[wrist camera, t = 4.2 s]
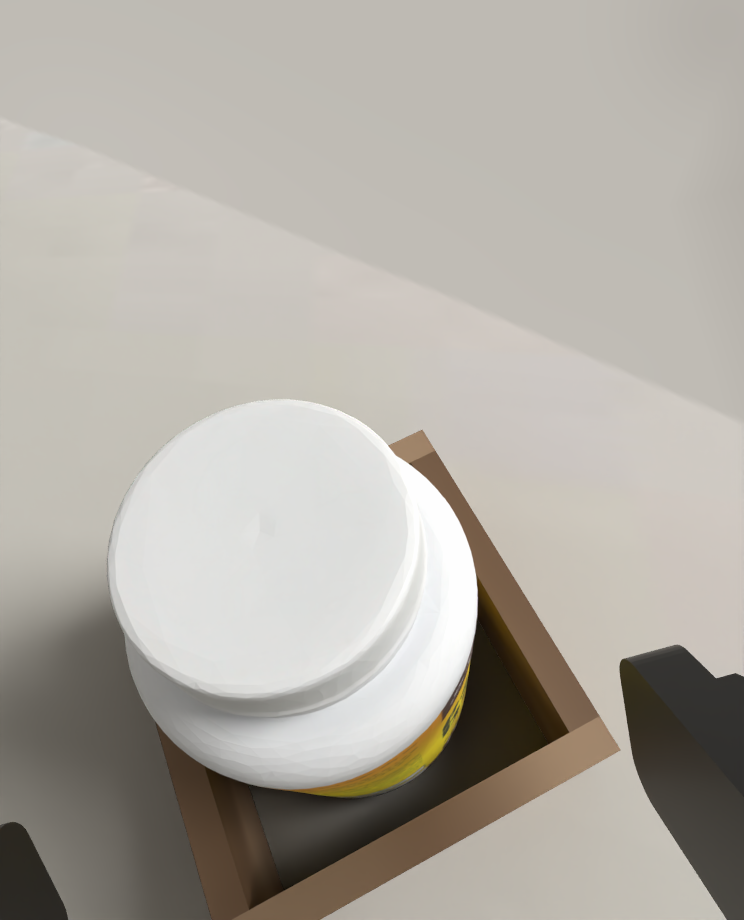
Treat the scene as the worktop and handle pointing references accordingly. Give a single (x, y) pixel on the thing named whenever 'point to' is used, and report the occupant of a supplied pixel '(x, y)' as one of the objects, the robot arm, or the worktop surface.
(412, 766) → the supplement bottle
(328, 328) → the worktop surface
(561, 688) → the wooden box
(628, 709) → the robot arm
